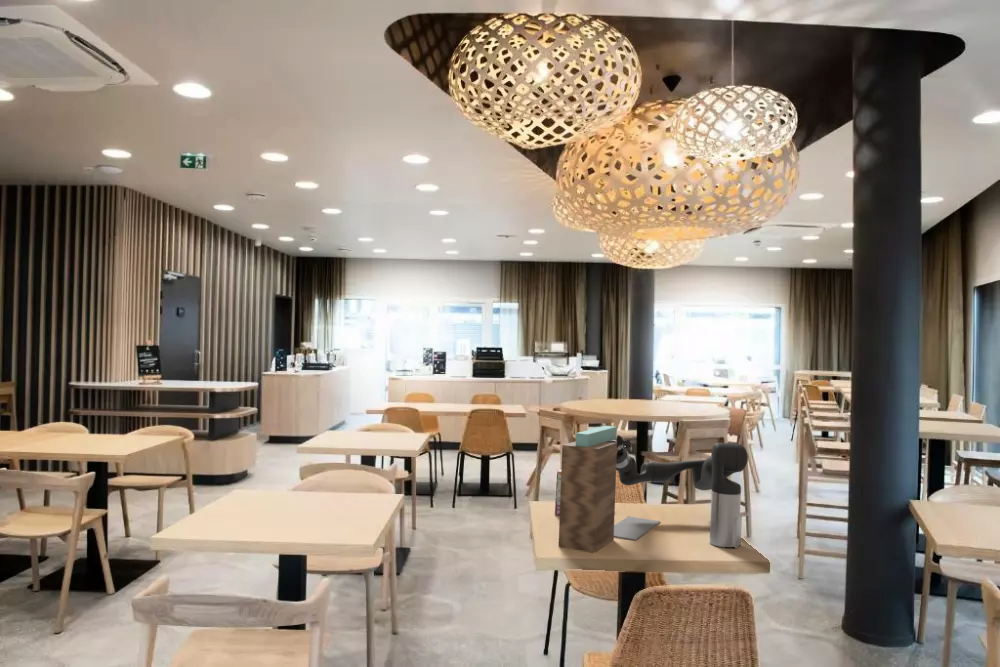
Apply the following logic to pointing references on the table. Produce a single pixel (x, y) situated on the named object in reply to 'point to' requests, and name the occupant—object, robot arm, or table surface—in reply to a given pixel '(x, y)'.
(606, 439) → the teal bar
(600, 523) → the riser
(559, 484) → the candy bar box
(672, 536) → the table surface
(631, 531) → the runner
